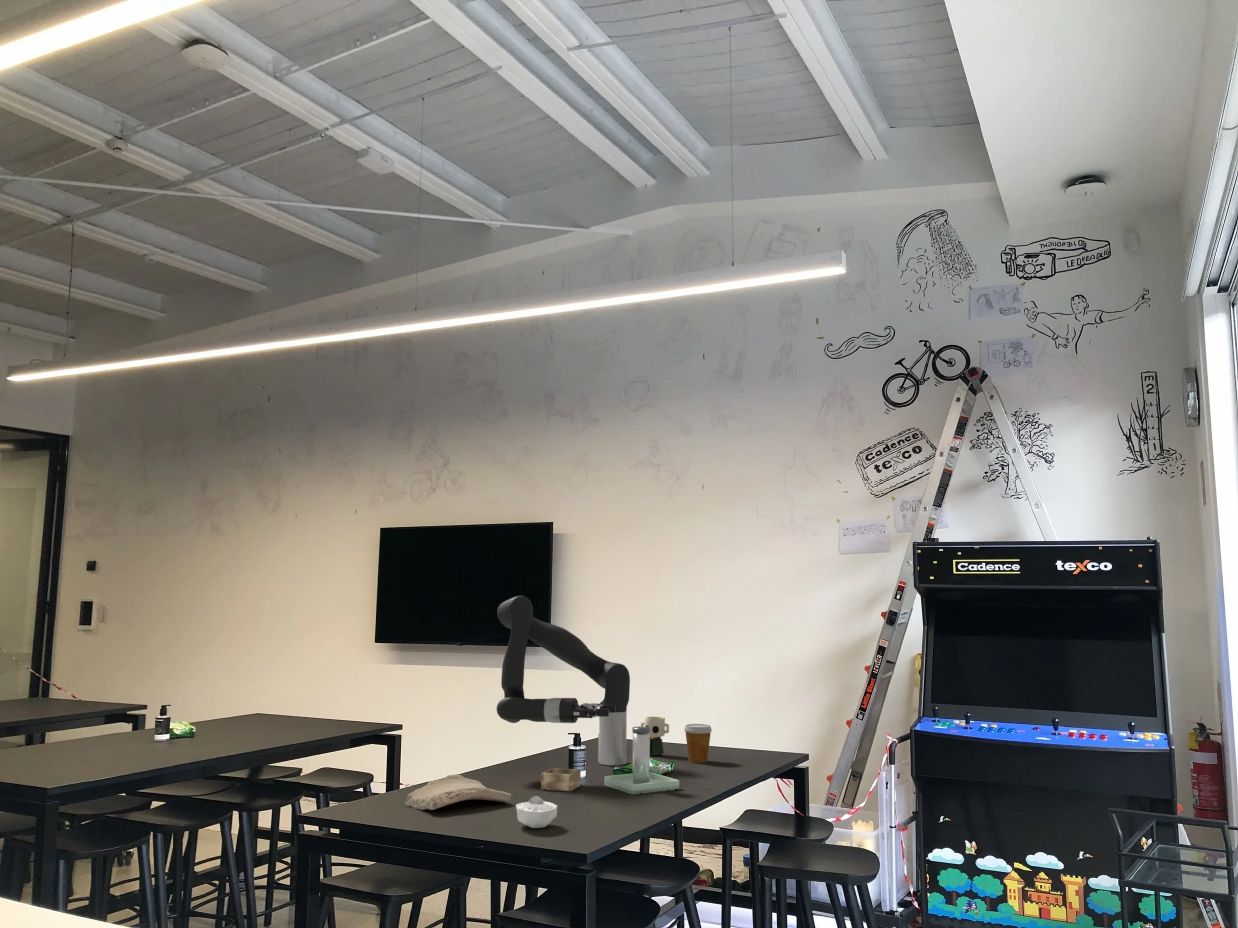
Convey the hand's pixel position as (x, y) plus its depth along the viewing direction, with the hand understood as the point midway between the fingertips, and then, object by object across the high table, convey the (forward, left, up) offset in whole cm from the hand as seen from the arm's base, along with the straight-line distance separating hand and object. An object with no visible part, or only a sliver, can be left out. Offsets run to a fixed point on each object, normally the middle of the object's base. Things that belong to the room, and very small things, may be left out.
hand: (612, 710), depth 296 cm
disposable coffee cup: (-19, +45, -21) cm, 53 cm away
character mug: (-37, +39, -21) cm, 58 cm away
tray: (+10, +4, -21) cm, 24 cm away
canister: (+10, +4, -20) cm, 23 cm away
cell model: (+40, -45, -21) cm, 64 cm away
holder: (-1, -17, -21) cm, 27 cm away
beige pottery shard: (+6, -52, -22) cm, 57 cm away
